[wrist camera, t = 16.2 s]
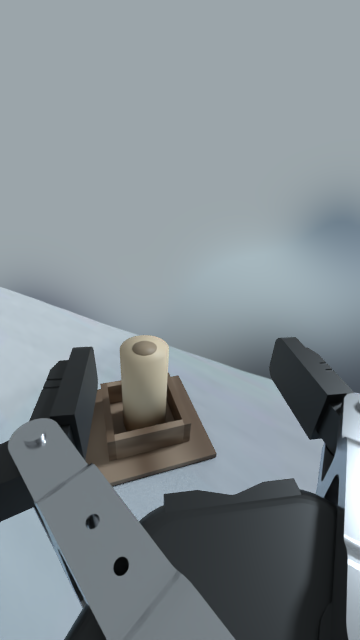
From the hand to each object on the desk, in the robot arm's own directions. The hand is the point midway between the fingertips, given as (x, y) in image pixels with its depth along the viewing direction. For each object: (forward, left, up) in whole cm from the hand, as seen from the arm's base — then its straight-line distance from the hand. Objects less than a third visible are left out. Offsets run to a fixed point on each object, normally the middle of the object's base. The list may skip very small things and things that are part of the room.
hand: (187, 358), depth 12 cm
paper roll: (-1, -15, -21) cm, 26 cm away
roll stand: (-1, -15, -21) cm, 26 cm away
